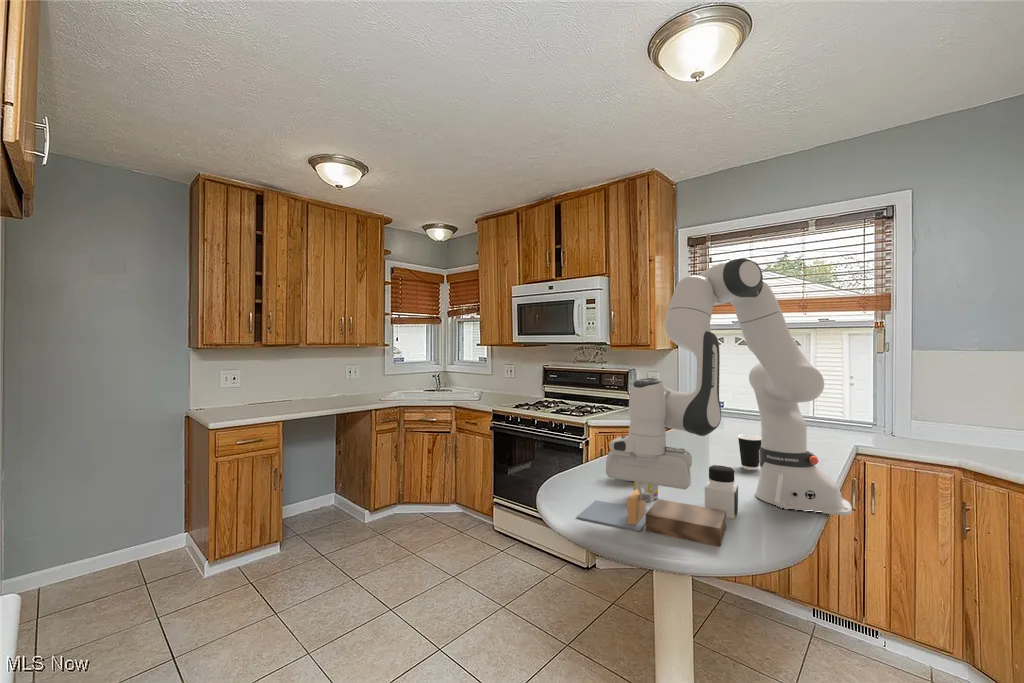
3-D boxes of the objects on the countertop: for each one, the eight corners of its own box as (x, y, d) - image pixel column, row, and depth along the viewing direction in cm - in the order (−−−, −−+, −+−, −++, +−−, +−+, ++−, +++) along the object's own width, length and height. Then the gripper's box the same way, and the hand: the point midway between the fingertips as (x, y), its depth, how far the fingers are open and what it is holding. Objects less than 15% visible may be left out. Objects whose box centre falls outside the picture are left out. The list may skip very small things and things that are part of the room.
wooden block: (726, 527, 108) (726, 510, 108) (720, 547, 97) (720, 528, 98) (657, 514, 116) (657, 499, 116) (645, 531, 106) (645, 514, 106)
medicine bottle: (735, 520, 112) (735, 471, 113) (704, 514, 116) (704, 467, 116) (738, 511, 119) (738, 465, 119) (708, 505, 122) (708, 461, 122)
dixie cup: (768, 469, 157) (768, 438, 157) (750, 472, 154) (750, 440, 154) (749, 464, 164) (749, 434, 164) (732, 466, 162) (732, 435, 162)
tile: (644, 489, 116) (636, 488, 117) (635, 499, 108) (627, 498, 109) (645, 512, 116) (638, 511, 117) (636, 524, 108) (628, 523, 109)
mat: (654, 512, 117) (654, 511, 117) (640, 531, 105) (640, 530, 105) (595, 501, 126) (595, 500, 126) (576, 518, 113) (576, 516, 113)
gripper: (693, 447, 109) (693, 504, 109) (611, 437, 119) (611, 490, 119) (689, 452, 103) (689, 512, 103) (603, 442, 114) (603, 497, 114)
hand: (646, 500), depth 111 cm, fingers closed
